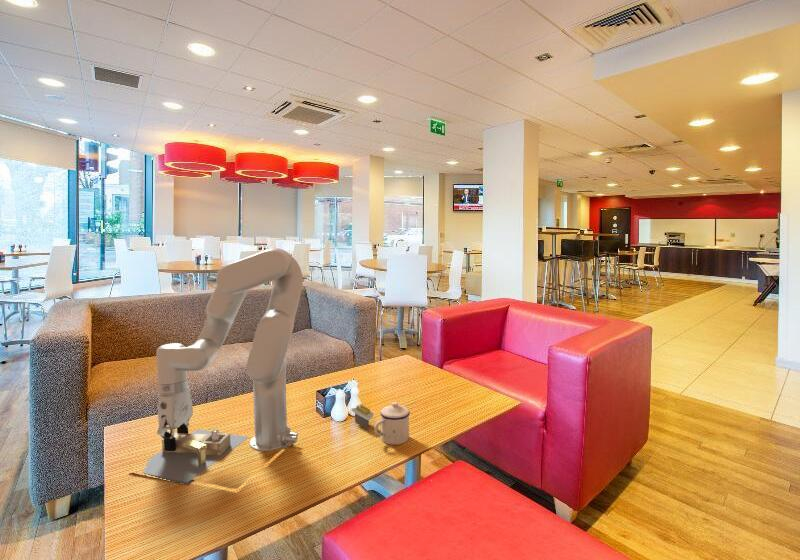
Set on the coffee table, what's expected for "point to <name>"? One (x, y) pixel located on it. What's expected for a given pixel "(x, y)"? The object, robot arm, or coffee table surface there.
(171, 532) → the coffee table surface
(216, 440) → the pintle
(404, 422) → the teacup with lid
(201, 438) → the link
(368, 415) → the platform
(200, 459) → the keeper
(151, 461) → the board
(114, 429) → the coffee table surface
